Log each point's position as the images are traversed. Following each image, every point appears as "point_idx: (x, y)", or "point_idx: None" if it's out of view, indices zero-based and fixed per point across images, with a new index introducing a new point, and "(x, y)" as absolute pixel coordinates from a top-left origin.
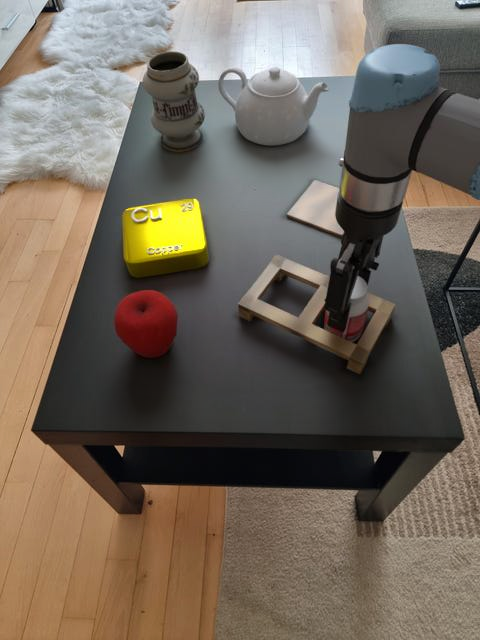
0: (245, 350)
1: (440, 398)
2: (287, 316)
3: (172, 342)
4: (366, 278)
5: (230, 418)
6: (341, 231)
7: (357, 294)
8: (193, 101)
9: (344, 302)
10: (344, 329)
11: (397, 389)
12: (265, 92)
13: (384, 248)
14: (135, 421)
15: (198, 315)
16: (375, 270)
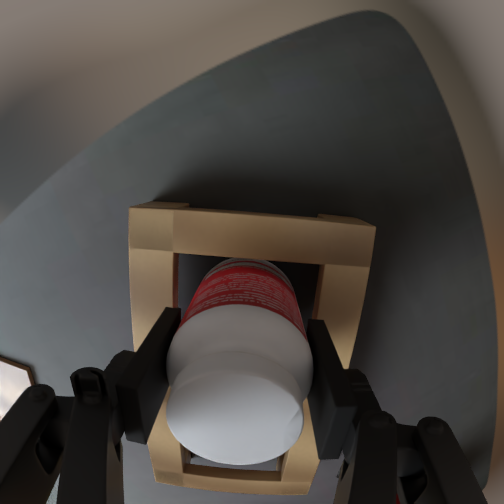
0: None
1: (330, 33)
2: (303, 432)
3: (398, 501)
4: (147, 377)
5: (485, 381)
6: (21, 373)
7: (266, 397)
8: None
9: (453, 472)
10: (323, 326)
11: (356, 122)
12: None
13: (2, 283)
14: (486, 451)
15: (324, 496)
16: (106, 376)
